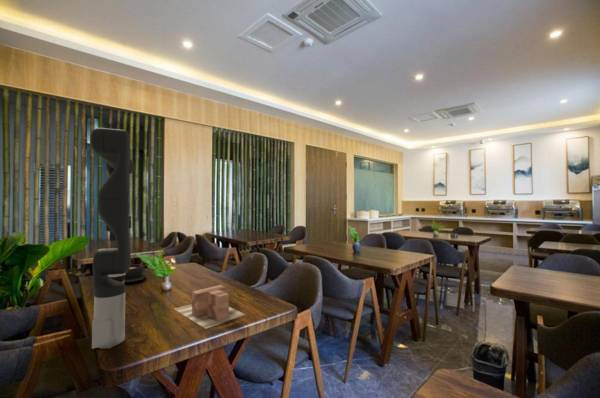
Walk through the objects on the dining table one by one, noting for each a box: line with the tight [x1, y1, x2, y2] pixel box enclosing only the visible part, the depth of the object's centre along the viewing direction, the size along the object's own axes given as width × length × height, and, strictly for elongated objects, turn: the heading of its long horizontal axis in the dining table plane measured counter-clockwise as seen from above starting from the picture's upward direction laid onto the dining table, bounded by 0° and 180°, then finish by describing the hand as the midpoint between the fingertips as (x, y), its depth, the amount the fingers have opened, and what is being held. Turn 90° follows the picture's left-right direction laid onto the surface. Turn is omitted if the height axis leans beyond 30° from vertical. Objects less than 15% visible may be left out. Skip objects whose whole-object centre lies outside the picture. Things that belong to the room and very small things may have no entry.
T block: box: [191, 284, 230, 321], centre depth 123 cm, size 14×14×10 cm
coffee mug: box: [108, 274, 125, 284], centre depth 153 cm, size 12×9×10 cm
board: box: [174, 303, 246, 330], centre depth 126 cm, size 29×19×1 cm, turn 47°
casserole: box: [124, 263, 147, 283], centre depth 178 cm, size 25×19×8 cm
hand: (119, 239), depth 124 cm, fingers open, 8 cm apart
